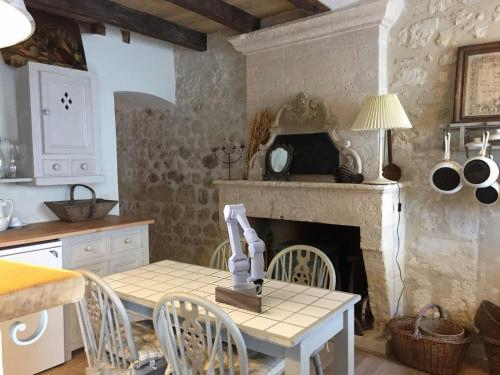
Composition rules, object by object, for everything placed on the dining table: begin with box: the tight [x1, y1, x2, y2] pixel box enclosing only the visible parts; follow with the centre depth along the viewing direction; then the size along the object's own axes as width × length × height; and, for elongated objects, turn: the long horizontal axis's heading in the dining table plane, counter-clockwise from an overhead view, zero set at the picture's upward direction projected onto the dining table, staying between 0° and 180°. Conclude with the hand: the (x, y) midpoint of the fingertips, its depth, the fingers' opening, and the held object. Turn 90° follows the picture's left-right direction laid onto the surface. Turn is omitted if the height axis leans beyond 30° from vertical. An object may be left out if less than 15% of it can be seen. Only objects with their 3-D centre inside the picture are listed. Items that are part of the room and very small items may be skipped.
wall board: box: [214, 286, 262, 314], centre depth 178 cm, size 2×26×7 cm, turn 51°
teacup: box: [233, 282, 263, 296], centre depth 184 cm, size 14×11×8 cm
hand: (257, 294), depth 189 cm, fingers closed, pressing on teacup
